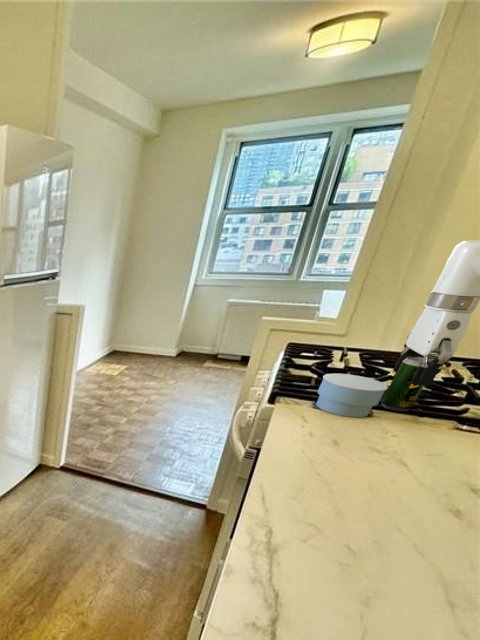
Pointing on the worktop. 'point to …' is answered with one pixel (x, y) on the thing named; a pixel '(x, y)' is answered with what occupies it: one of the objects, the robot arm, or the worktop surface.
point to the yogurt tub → (349, 394)
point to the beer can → (403, 386)
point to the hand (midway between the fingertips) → (410, 378)
